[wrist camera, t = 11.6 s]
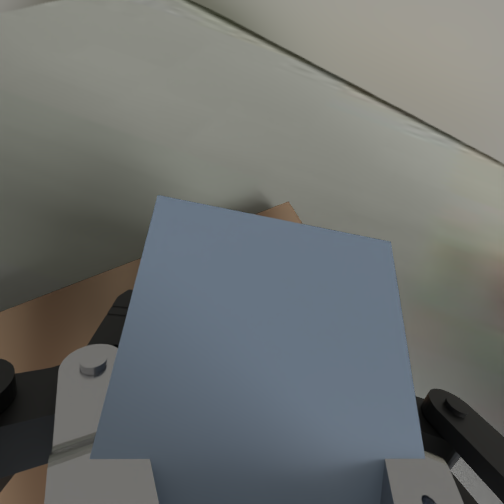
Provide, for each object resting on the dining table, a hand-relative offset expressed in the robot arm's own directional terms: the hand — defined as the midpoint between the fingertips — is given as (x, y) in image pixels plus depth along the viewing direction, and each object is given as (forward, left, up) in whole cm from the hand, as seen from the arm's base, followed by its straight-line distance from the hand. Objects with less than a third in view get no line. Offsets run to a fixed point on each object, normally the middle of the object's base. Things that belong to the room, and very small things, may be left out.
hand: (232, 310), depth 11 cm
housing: (+1, +1, -4) cm, 5 cm away
